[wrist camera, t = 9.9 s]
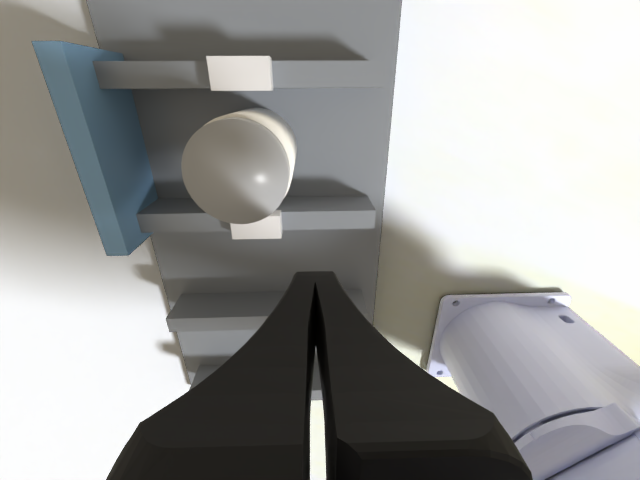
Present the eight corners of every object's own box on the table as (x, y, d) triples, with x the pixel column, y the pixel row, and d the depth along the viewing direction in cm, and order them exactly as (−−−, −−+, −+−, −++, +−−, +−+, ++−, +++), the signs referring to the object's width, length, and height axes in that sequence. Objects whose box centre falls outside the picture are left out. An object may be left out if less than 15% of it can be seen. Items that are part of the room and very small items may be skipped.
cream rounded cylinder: (295, 106, 16) (287, 114, 10) (298, 183, 17) (294, 225, 12) (216, 108, 16) (166, 117, 10) (227, 185, 17) (190, 228, 12)
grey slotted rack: (396, 4, 15) (435, -34, 10) (364, 381, 26) (376, 442, 22) (99, 3, 14) (4, -37, 10) (198, 387, 26) (175, 449, 21)
